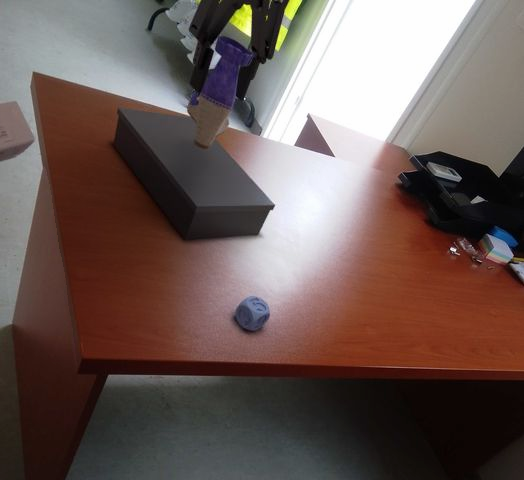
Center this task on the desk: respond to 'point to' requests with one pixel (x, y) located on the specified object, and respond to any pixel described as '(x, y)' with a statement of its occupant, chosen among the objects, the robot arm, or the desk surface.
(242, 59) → the sandal
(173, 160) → the shoebox
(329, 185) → the desk surface
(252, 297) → the decorative dice
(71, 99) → the desk surface
